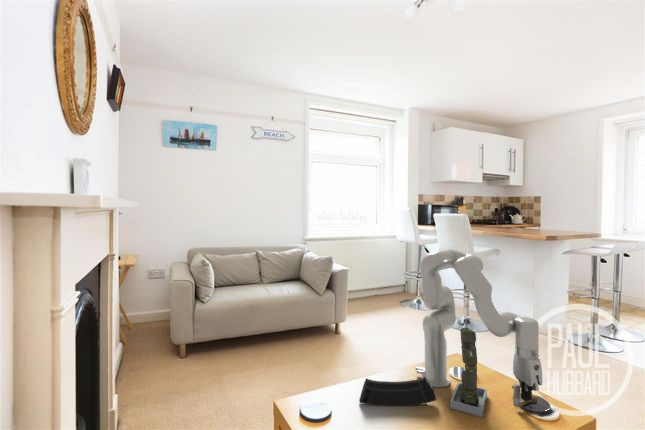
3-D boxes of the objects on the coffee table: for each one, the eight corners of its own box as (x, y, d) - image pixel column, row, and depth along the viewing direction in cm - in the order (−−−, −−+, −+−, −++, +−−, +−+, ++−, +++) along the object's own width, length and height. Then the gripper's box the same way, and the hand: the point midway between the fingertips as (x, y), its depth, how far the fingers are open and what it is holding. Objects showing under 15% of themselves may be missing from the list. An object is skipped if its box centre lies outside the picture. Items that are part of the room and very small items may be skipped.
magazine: (353, 384, 140) (425, 363, 139) (353, 380, 143) (423, 359, 142) (366, 424, 140) (438, 403, 140) (365, 419, 144) (435, 399, 143)
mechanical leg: (483, 413, 132) (479, 331, 138) (463, 411, 134) (460, 329, 140) (476, 402, 145) (472, 327, 151) (457, 400, 147) (455, 326, 153)
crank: (530, 396, 142) (531, 376, 142) (539, 401, 139) (539, 381, 139) (509, 404, 137) (509, 383, 137) (517, 409, 134) (517, 388, 134)
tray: (450, 408, 138) (450, 400, 138) (457, 389, 152) (457, 382, 152) (482, 417, 132) (482, 409, 132) (487, 396, 146) (487, 389, 146)
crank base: (514, 408, 138) (514, 404, 138) (515, 393, 148) (515, 390, 148) (550, 417, 132) (550, 413, 132) (549, 401, 142) (549, 397, 142)
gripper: (551, 359, 124) (551, 409, 125) (521, 342, 139) (520, 388, 139) (533, 361, 123) (532, 412, 123) (504, 344, 138) (503, 390, 138)
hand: (526, 399), depth 131 cm, fingers closed
